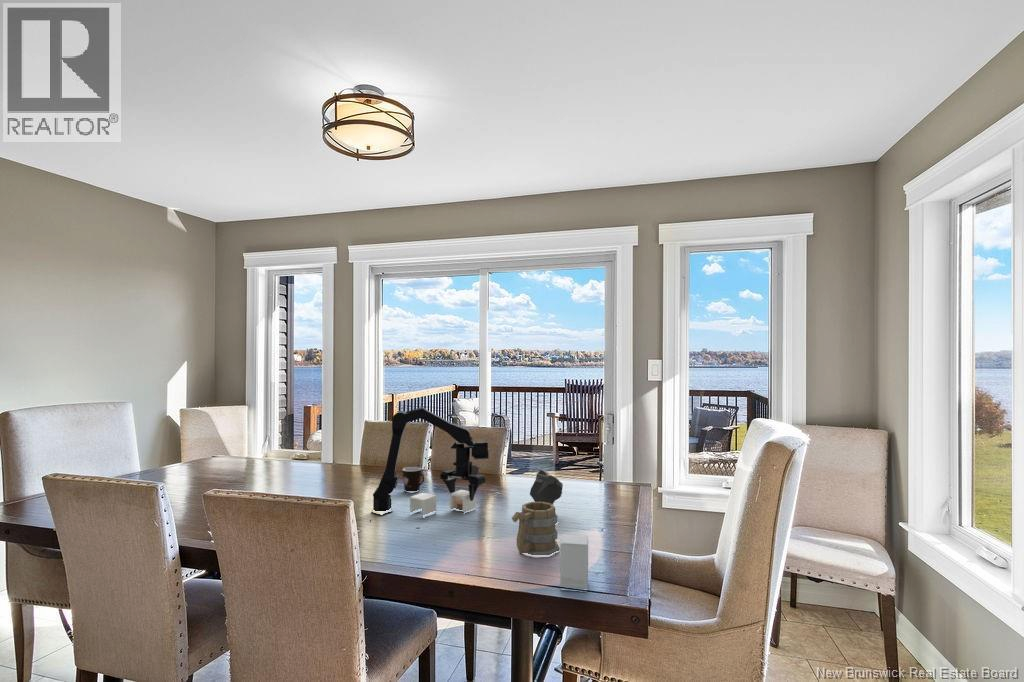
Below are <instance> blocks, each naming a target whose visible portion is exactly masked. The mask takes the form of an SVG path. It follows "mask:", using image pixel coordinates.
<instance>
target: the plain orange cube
mask: <svg viewBox="0 0 1024 682" xmlns="http://www.w3.org/2000/svg"><path fill="white" fill-rule="evenodd" d="M456 509H459V510H463V499H460V500H457V501H456Z"/></svg>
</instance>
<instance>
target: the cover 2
mask: <svg viewBox="0 0 1024 682" xmlns="http://www.w3.org/2000/svg"><path fill="white" fill-rule="evenodd" d="M460 499H463V512H466V511H469V510H471V509H473V508H475V509H476V495H475V496H474V499H473V501H471V500H470V495H469V490H465V489H459V490H455V492H453V493H450V492H449V510H450V509H453V508H456V501H457V500H460Z"/></svg>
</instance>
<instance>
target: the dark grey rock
mask: <svg viewBox="0 0 1024 682" xmlns="http://www.w3.org/2000/svg"><path fill="white" fill-rule="evenodd" d="M562 494H563V482H561V481H560V480H559V479H558V477H555V476H553V475H551V474H549V472H548V471H547V470H546V469H539V471H538V472H536V477H535V480H534V482H533V484H532V486H531V487H530V491H529V496H530V497H531V498H532V499H533V502H546V503H550V504H553V505H554V503H555V501H557V500H559V499H560V498H561V497H562Z"/></svg>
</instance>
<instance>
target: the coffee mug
mask: <svg viewBox="0 0 1024 682" xmlns="http://www.w3.org/2000/svg"><path fill="white" fill-rule="evenodd" d="M422 471H423V469H422V467H419V466H407V467H403V468H402V479H403V487H404V491H405V490H406V491H417V490H419V491H420V487H421V485H422V484H423V483H424V482H425V476H424V475H423V473H422ZM421 479H422V481H421Z"/></svg>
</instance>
